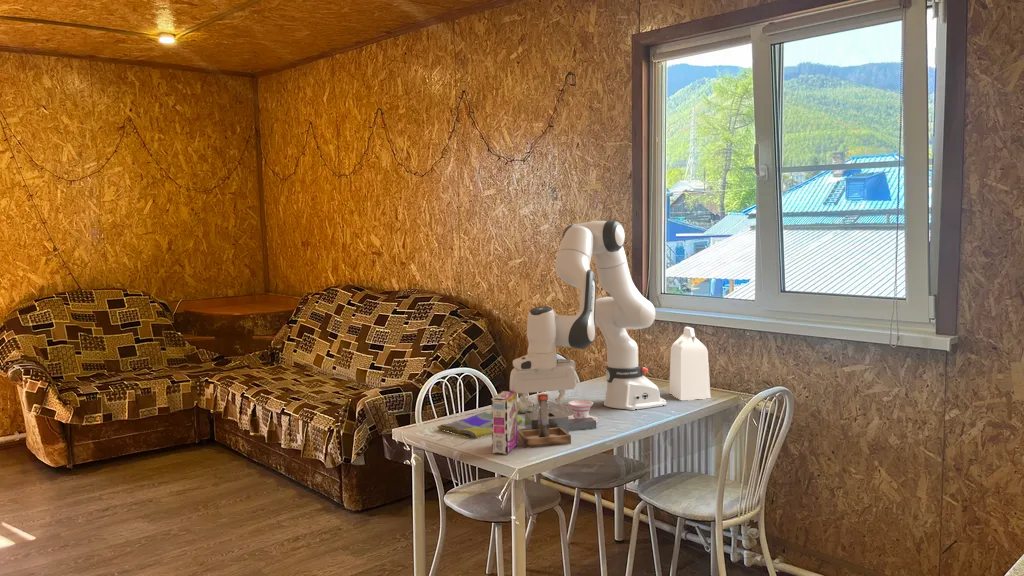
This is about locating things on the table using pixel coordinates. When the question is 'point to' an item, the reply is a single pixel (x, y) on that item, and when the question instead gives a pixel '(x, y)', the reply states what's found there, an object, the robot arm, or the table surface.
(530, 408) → the valve
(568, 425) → the hitch block
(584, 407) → the teacup
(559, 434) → the tray
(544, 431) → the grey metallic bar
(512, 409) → the candy bar box
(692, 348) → the milk
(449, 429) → the dish towel
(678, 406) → the table surface
